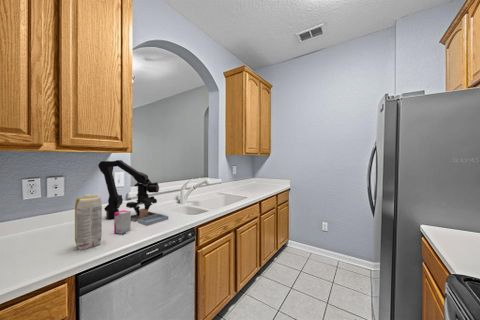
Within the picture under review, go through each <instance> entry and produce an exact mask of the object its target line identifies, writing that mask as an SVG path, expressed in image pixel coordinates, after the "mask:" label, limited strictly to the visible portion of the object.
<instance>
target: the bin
mask: <svg viewBox="0 0 480 320" xmlns="http://www.w3.org/2000/svg"><path fill="white" fill-rule="evenodd" d="M156 214H157V213H156V212H151V211H149V210H148V216H145V217H149V216H152V215H156ZM145 217H141V218H145ZM141 218H137V214H131V222H132V221H133V222H138V219H141Z"/></svg>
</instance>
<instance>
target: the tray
mask: <svg viewBox="0 0 480 320" xmlns="http://www.w3.org/2000/svg"><path fill="white" fill-rule="evenodd" d="M168 220H169V215H166V214H163V213H156V215H152V216H149V217H145V218H141V219H138V221H137V223H138V224H140V225H143V226H146V227H149V226H150V225H154V224H157V223H160V222H164V221H168Z"/></svg>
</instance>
